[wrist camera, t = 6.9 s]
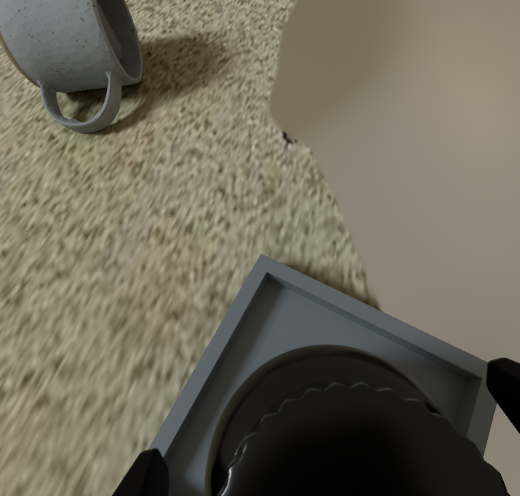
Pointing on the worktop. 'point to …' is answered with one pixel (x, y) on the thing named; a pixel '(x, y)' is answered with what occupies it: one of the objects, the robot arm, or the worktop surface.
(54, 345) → the worktop surface
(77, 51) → the ceramic mug
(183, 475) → the tray
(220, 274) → the worktop surface
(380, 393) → the supplement bottle
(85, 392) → the worktop surface
